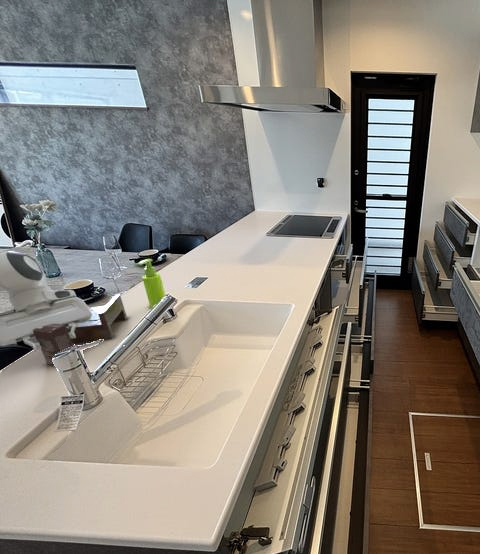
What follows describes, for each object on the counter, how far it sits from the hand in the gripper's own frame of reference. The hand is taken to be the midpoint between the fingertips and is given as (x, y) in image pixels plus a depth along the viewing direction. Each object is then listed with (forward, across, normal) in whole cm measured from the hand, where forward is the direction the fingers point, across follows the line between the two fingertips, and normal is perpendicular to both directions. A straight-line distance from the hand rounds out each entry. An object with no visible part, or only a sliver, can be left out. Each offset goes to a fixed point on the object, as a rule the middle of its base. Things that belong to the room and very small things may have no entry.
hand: (56, 343), depth 89 cm
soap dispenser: (-7, +32, +17) cm, 37 cm away
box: (+4, 0, +5) cm, 7 cm away
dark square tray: (-4, +12, +14) cm, 18 cm away
